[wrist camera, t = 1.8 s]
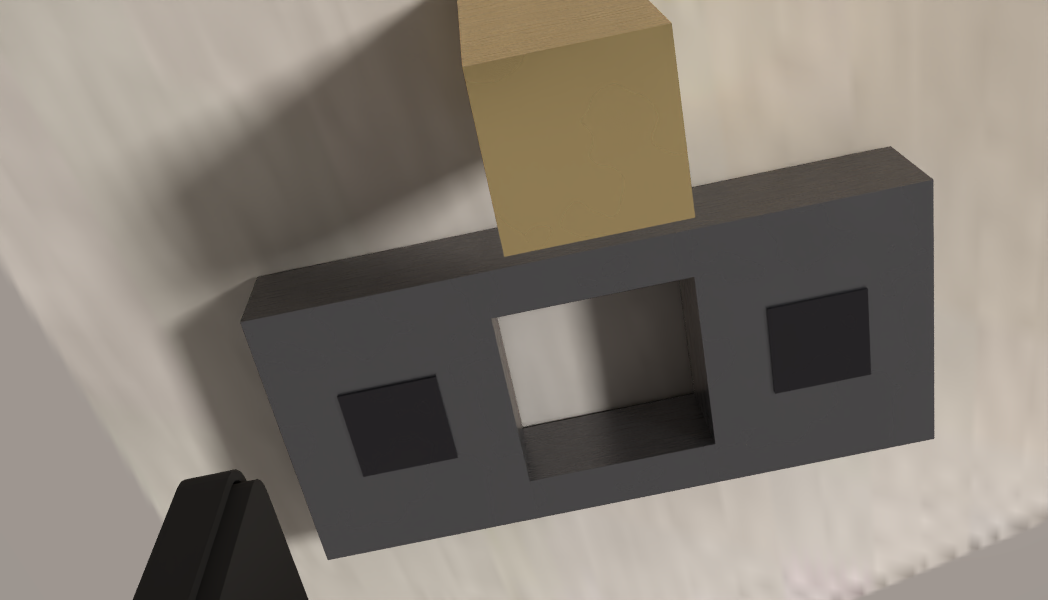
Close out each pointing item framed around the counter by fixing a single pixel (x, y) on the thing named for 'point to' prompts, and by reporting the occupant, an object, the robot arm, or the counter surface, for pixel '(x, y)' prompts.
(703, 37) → the counter surface
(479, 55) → the brass peg
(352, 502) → the grey peg hole board
